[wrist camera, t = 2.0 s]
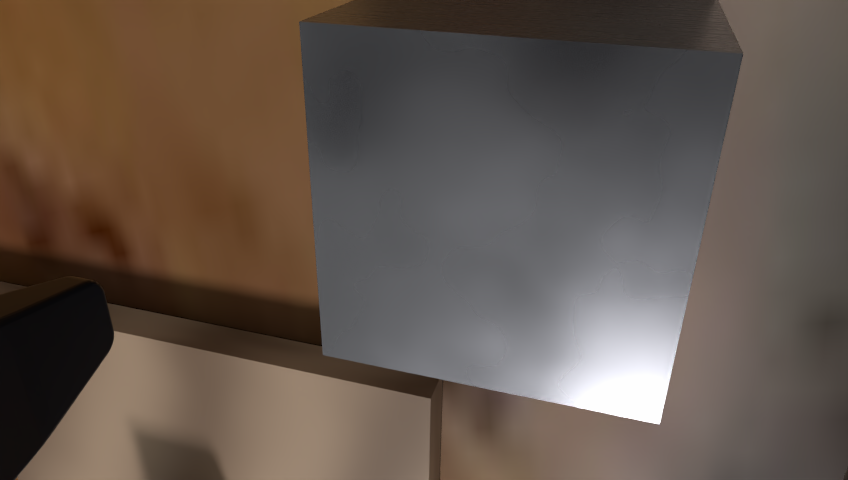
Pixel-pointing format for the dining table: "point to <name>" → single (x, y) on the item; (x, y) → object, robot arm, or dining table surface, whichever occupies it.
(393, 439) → the tang plate
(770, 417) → the dining table surface
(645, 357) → the brushed metal cube
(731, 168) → the dining table surface
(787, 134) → the dining table surface
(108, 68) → the dining table surface
